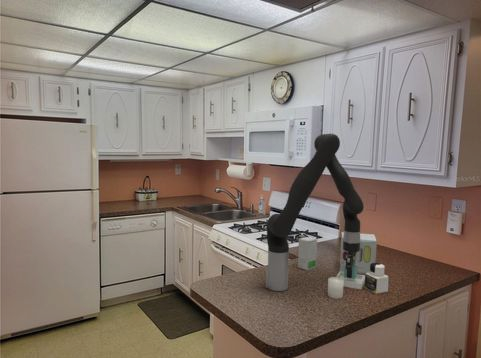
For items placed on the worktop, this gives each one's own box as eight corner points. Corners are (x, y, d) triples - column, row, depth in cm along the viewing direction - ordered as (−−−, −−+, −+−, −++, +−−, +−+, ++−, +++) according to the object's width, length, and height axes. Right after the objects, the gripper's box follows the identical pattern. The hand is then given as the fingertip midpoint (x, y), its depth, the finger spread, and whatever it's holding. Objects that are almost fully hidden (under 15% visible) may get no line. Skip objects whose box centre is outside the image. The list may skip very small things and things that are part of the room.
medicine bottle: (364, 288, 161) (365, 262, 160) (376, 285, 164) (377, 260, 163) (375, 294, 155) (377, 267, 154) (388, 291, 157) (389, 265, 156)
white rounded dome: (326, 296, 151) (326, 280, 151) (329, 291, 157) (330, 276, 156) (341, 299, 148) (342, 283, 148) (344, 294, 154) (344, 278, 153)
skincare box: (306, 270, 183) (307, 241, 181) (296, 267, 188) (297, 238, 186) (316, 267, 188) (317, 238, 187) (306, 264, 193) (307, 236, 192)
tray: (334, 284, 165) (334, 279, 164) (339, 276, 175) (339, 271, 175) (361, 289, 159) (361, 284, 159) (364, 280, 170) (365, 275, 170)
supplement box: (339, 271, 182) (341, 237, 180) (339, 263, 195) (341, 231, 193) (375, 275, 177) (377, 240, 176) (373, 267, 190) (374, 234, 188)
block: (343, 277, 166) (344, 267, 166) (345, 274, 170) (346, 263, 170) (355, 279, 164) (355, 268, 163) (356, 275, 168) (357, 265, 168)
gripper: (346, 236, 174) (344, 269, 175) (340, 242, 161) (339, 279, 162) (362, 237, 170) (360, 272, 172) (357, 245, 157) (356, 282, 159)
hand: (350, 275), depth 167 cm, fingers closed on block, 5 cm apart
